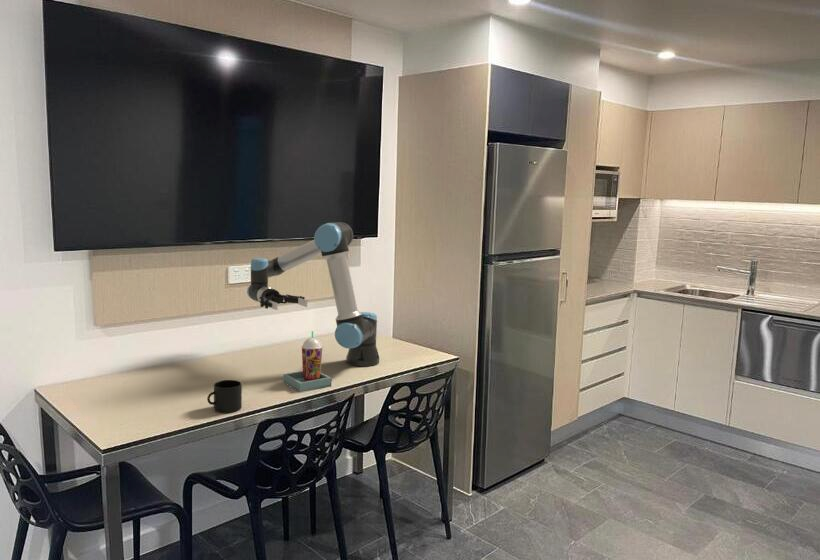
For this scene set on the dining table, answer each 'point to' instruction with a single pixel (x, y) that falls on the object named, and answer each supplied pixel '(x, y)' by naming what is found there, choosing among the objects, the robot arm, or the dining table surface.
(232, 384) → the mug
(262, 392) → the dining table surface
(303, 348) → the smoothie
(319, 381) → the bin
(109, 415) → the dining table surface
